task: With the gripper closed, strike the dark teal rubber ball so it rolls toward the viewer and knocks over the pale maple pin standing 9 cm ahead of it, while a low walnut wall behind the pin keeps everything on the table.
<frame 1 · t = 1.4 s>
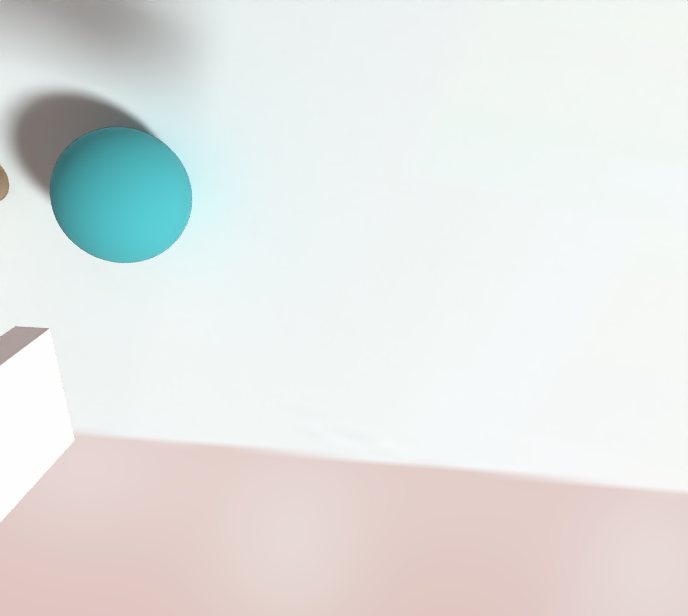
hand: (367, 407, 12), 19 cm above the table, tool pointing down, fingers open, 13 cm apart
ball: (123, 196, 28), on the table
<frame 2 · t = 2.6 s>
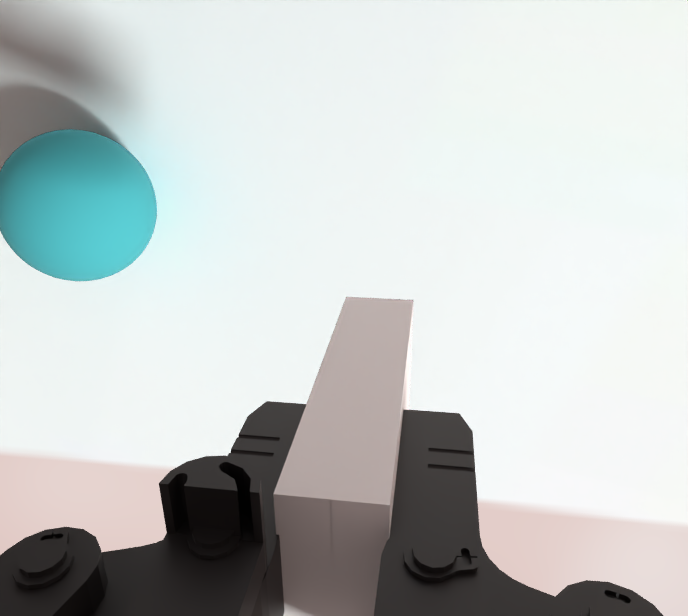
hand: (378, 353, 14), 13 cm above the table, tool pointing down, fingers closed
ball: (79, 206, 25), on the table
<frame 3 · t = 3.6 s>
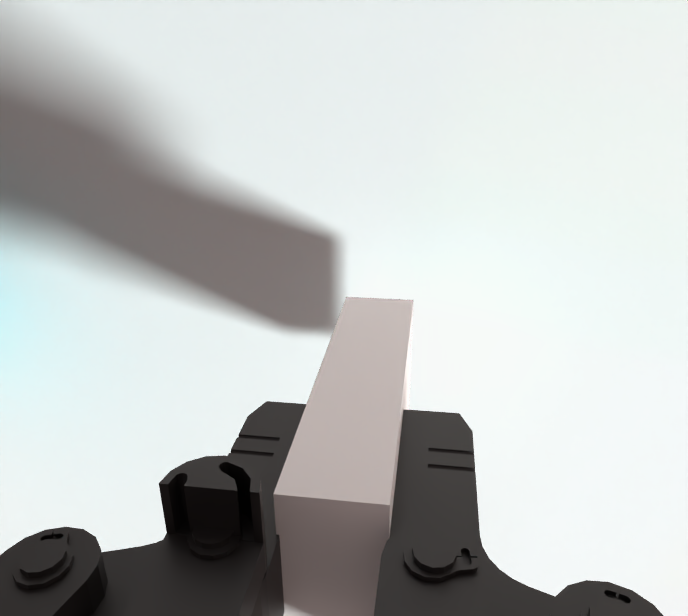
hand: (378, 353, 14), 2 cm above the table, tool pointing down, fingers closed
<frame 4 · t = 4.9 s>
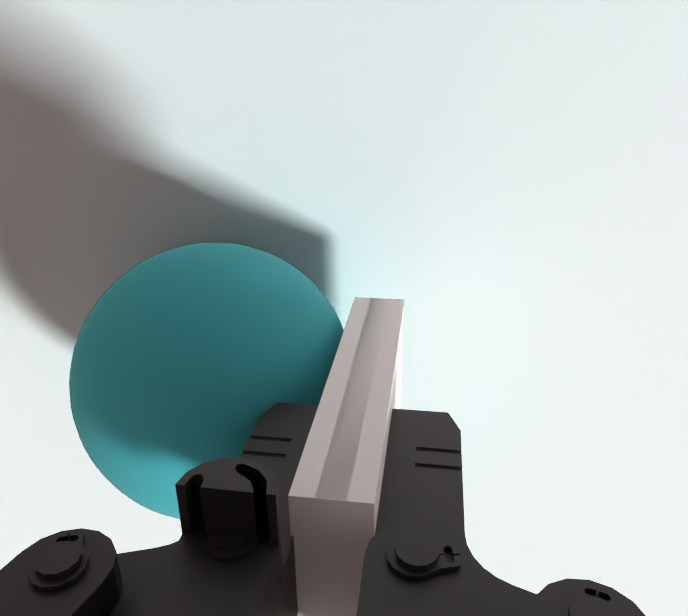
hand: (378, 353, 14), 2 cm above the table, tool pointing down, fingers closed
ball: (217, 378, 14), on the table, touching gripper
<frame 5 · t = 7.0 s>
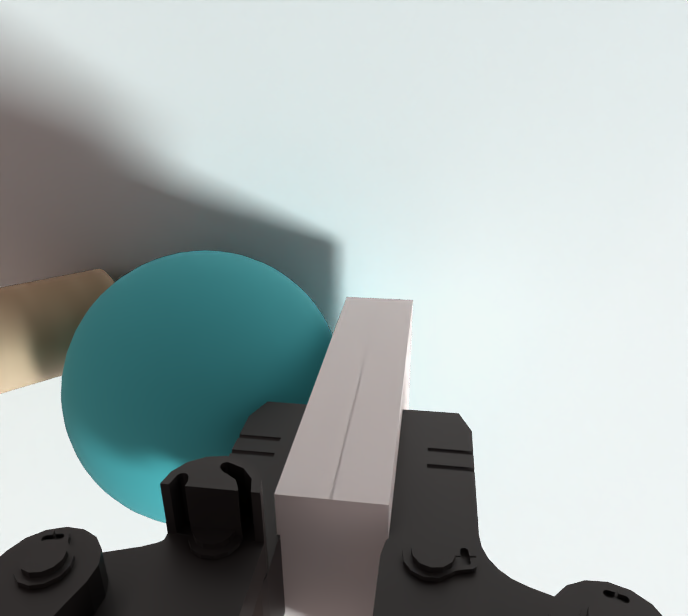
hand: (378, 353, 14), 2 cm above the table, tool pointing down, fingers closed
ball: (208, 384, 14), on the table, touching gripper, pin
pin: (108, 313, 16), point 1 cm above the table, tilted 38°, touching ball
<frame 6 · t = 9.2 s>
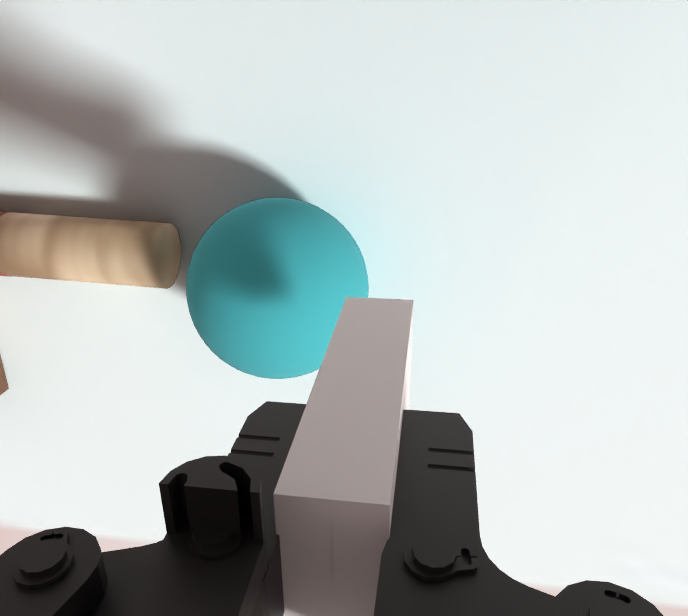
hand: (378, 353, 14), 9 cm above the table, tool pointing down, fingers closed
ball: (278, 288, 21), on the table
pin: (168, 256, 23), point 1 cm above the table, tilted 90°
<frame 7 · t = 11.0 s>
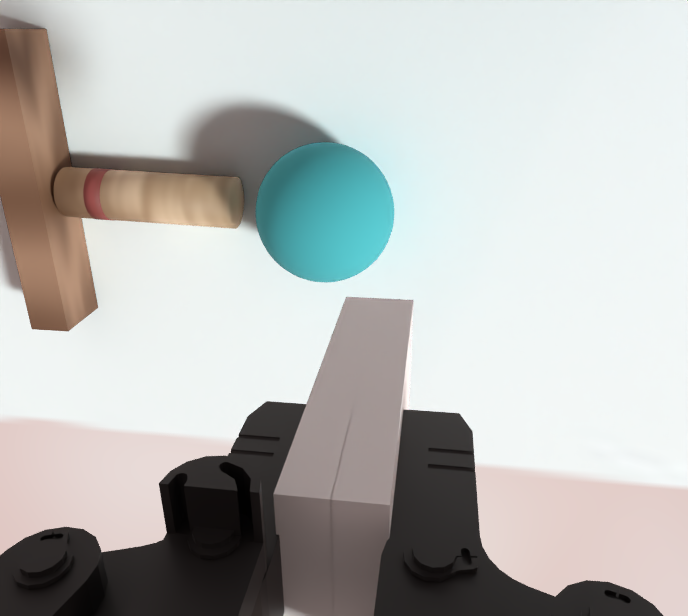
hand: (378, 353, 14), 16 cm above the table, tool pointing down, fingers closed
back wall: (56, 180, 31), on the table
ball: (325, 213, 27), on the table
pin: (236, 202, 29), point 1 cm above the table, tilted 90°
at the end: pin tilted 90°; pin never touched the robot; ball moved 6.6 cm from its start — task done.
